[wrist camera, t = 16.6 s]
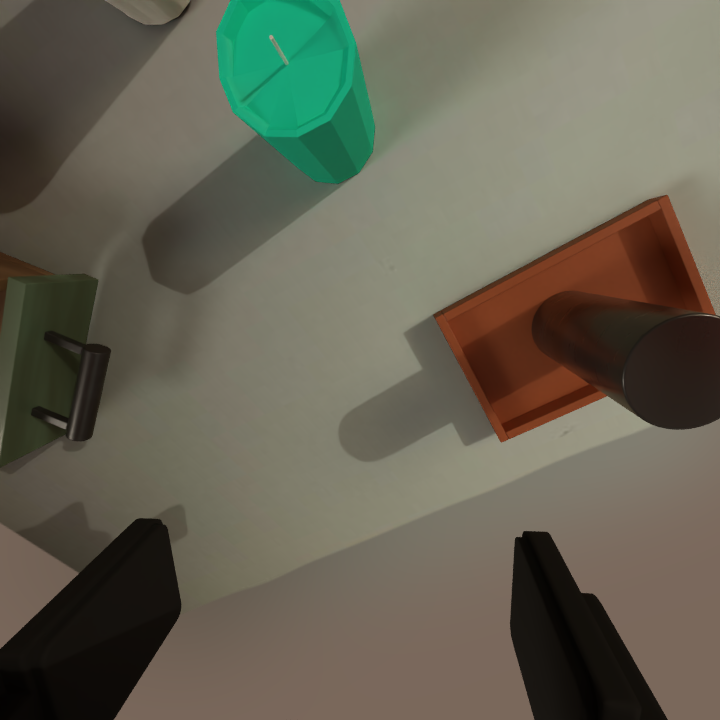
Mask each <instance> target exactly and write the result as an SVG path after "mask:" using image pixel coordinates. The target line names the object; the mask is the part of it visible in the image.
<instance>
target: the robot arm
mask: <svg viewBox="0 0 720 720" xmlns="http://www.w3.org/2000/svg"><path fill="white" fill-rule="evenodd" d="M180 611H181V599H180V594H179V588H178V583H177V577H176V572H175V566H174V561H173V556H172V550H171V545H170V539H169V534H168V529H167V527H166V525H163V523H162V521H161V520H160V519H145V518H139V519H136V520H135V521H134V522H133V523H132V524H131V525H129V526H128V527H127V528H126V529H125V530H124V531H123V532H122V533H121V534H120V535H119V536H118V537H117V538H116V539H115V540H114V541H113V542H112V543H111V544H110V545H109V546H108V547H106V548H105V549H104V550H103V551H102V552H101V553H100V554H99V555H98V556H97V557H96V558H95V559H94V560H93V561H92V562H91V563H90V564H89V565H88V566H87V567H86V568H85V569H83V570H82V571H81V572H80V573H79V574H78V575H77V576H76V577H75V578H74V579H73V580H72V581H71V582H70V583H69V584H68V585H67V586H66V587H65V588H64V589H63V590H61V592H59V593H58V594H57V595H56V596H55V597H54V598H53V599H52V600H51V601H50V602H49V603H48V604H47V605H46V606H45V607H44V608H43V609H42V610H41V611H40V612H39V613H38V614H36V615H35V616H34V617H33V618H32V619H31V620H30V621H29V622H28V623H27V624H26V625H25V626H24V627H23V628H22V629H21V630H20V631H19V632H18V633H17V634H16V635H14V636H13V637H12V638H11V639H10V640H9V641H8V642H7V643H6V644H5V645H4V646H3V647H2V648H1V649H0V720H114V718H115V717H116V715H117V714H118V712H119V711H120V709H121V707H122V706H123V704H124V703H125V701H126V700H127V698H128V696H129V695H130V693H131V692H132V690H133V689H134V687H135V685H136V684H137V682H138V681H139V679H140V678H141V676H142V674H143V673H144V671H145V670H146V668H147V667H148V665H149V663H150V662H151V660H152V659H153V657H154V656H155V654H156V652H157V651H158V649H159V647H160V646H161V645H162V643H163V641H164V640H165V638H166V637H167V635H168V634H169V632H170V630H171V629H172V627H173V626H174V624H175V623H176V621H177V619H178V617H179V615H180ZM510 629H511V637H512V641H513V645H514V648H515V652H516V656H517V659H518V663H519V666H520V670H521V673H522V677H523V680H524V684H525V688H526V691H527V695H528V698H529V702H530V705H531V709H532V712H533V716H534V719H535V720H668V719H667V718H666V716H665V714H664V712H663V711H662V709H661V707H660V705H659V704H658V702H657V700H656V698H655V697H654V695H653V693H652V691H651V690H650V688H649V686H648V684H647V683H646V681H645V679H644V677H643V676H642V674H641V672H640V671H639V669H638V667H637V665H636V664H635V662H634V660H633V658H632V657H631V655H630V653H629V651H628V650H627V648H626V646H625V644H624V643H623V641H622V639H621V637H620V636H619V634H618V633H617V630H616V629H615V627H614V625H613V623H612V622H611V620H610V618H609V617H608V615H607V613H606V611H605V610H604V608H603V606H602V604H601V603H600V601H599V600H598V599H597V597H596V596H595V595H593V594H589V593H581V592H580V590H579V588H578V586H577V584H576V582H575V581H574V579H573V577H572V575H571V573H570V571H569V569H568V568H567V566H566V564H565V562H564V560H563V558H562V556H561V554H560V552H559V551H558V549H557V547H556V545H555V543H554V541H553V539H552V537H551V535H550V534H549V533H548V532H535V531H534V532H532V531H524V532H523V534H522V537H516V538H515V547H514V564H513V583H512V600H511V619H510Z"/></svg>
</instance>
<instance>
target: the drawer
mask: <svg viewBox="0 0 720 720" xmlns="http://www.w3.org/2000/svg"><path fill="white" fill-rule="evenodd" d="M97 285H98V279H96V278H93V277H91V276H88V275H86V274H69V275H55V274H52V273H50V272H48V271H45V270H43V269H40V268H38V267H35V266H33V265H31V264H28V263H26V262H23V261H21V260H19V259H16V258H14V257H11V256H9V255H6V254H4V253H2V252H0V467H2V466H4V465H6V464H8V463H10V462H12V461H14V460H16V459H18V458H20V457H22V456H24V455H26V454H28V453H30V452H32V451H34V450H35V449H37V448H39V447H41V446H43V445H45V444H47V443H49V442H51V441H53V440H55V439H57V438H59V437H61V436H63V435H65V434H66V437H67V438H68V439H70V440H73V441H85V440H88V439H90V438H91V437H92V435H93V431H94V426H95V422H96V417H97V412H98V408H99V403H100V399H101V394H102V390H103V385H104V380H105V376H106V371H107V367H108V362H109V358H110V353H111V350H110V348H108V347H106V346H104V345H100V344H86V340H87V335H88V330H89V325H90V320H91V315H92V310H93V305H94V300H95V295H96V290H97Z"/></svg>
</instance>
